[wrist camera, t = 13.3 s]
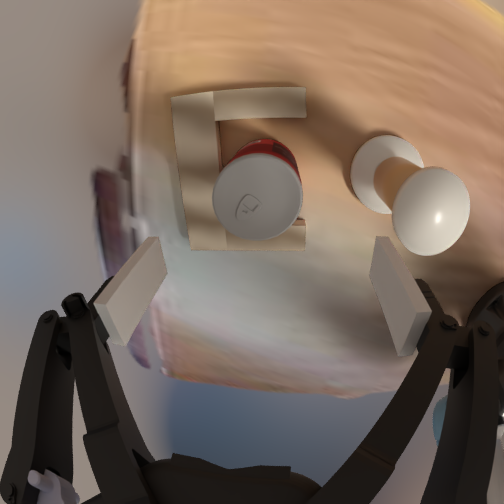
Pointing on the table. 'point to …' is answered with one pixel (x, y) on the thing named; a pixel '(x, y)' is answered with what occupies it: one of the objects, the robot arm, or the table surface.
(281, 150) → the canned food
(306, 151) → the table surface
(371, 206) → the bobbin
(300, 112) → the notched board
